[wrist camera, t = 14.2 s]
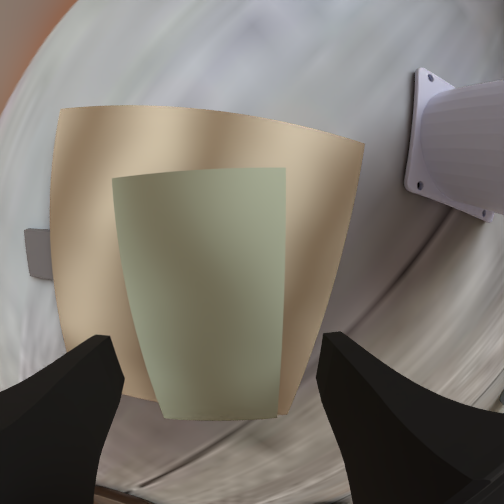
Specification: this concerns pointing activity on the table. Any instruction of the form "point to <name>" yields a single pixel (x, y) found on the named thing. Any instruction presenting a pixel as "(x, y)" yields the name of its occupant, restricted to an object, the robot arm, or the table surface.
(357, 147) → the board
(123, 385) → the robot arm
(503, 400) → the green lidded jar
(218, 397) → the block
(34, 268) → the small gray block
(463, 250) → the table surface
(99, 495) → the plant saucer
